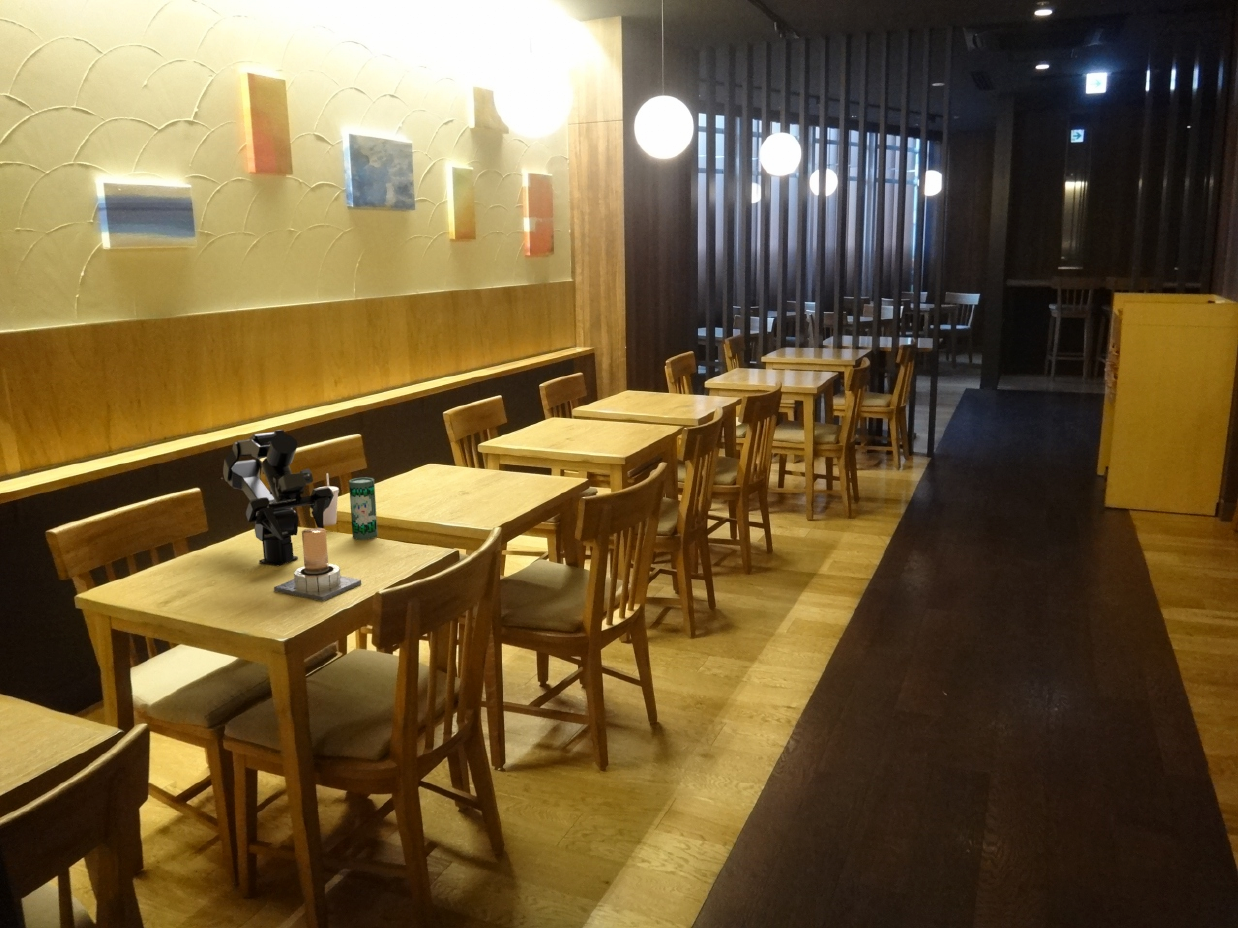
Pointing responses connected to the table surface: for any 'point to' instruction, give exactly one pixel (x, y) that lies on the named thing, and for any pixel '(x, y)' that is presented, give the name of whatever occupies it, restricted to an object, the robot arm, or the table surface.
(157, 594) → the table surface
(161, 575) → the table surface
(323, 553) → the tan cylinder
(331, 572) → the plate
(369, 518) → the can
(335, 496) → the smoothie
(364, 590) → the table surface
